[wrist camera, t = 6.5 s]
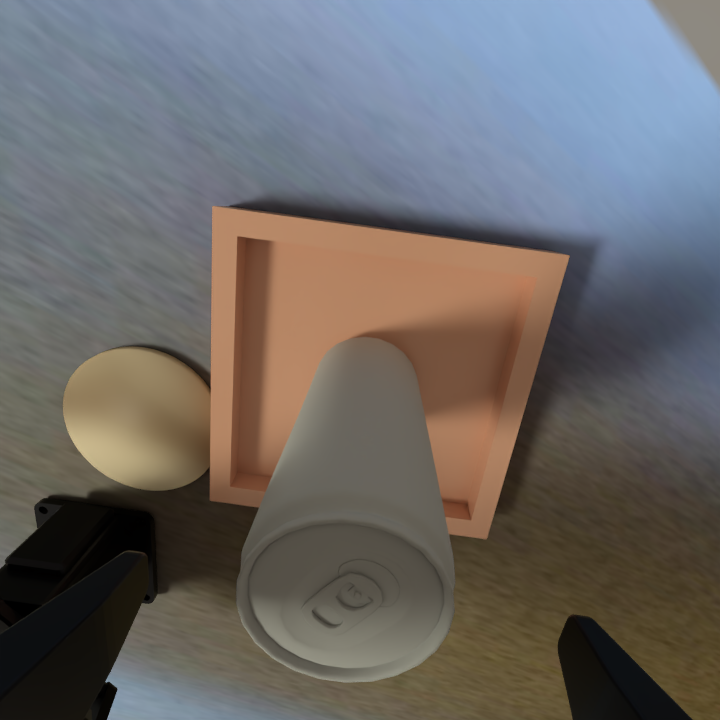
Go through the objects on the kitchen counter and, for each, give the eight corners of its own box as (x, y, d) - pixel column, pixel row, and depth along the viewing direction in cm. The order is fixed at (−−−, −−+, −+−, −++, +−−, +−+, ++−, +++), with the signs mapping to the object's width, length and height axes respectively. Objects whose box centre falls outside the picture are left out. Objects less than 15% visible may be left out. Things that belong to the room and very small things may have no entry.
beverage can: (438, 383, 20) (511, 614, 9) (365, 445, 21) (346, 716, 10) (365, 311, 19) (340, 466, 8) (293, 380, 20) (182, 601, 9)
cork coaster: (222, 494, 23) (218, 500, 23) (77, 474, 23) (71, 479, 23) (224, 358, 21) (221, 362, 20) (61, 335, 21) (54, 338, 20)
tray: (479, 514, 23) (486, 539, 21) (222, 479, 23) (209, 500, 21) (552, 251, 18) (569, 255, 17) (228, 205, 18) (212, 205, 17)
